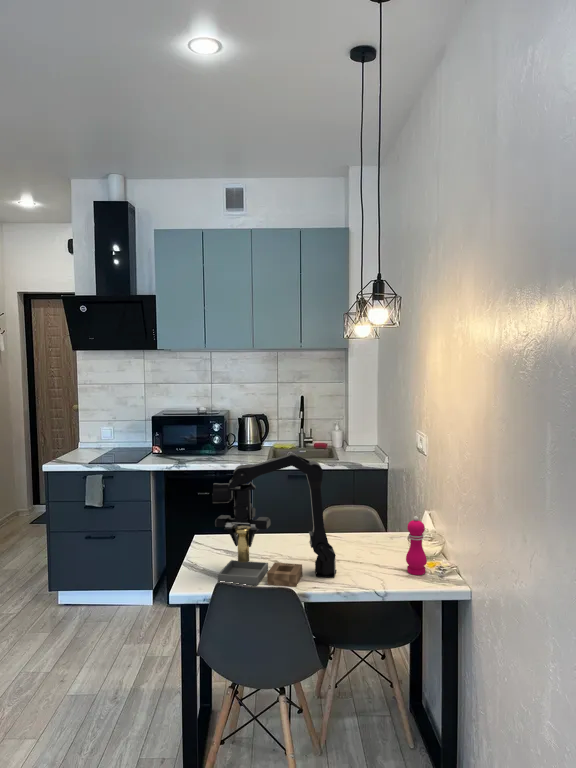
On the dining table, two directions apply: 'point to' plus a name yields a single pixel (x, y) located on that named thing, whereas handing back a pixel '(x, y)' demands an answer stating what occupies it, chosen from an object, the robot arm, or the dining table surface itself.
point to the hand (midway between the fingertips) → (243, 546)
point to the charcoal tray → (243, 572)
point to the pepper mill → (416, 548)
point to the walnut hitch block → (284, 574)
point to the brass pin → (243, 543)
